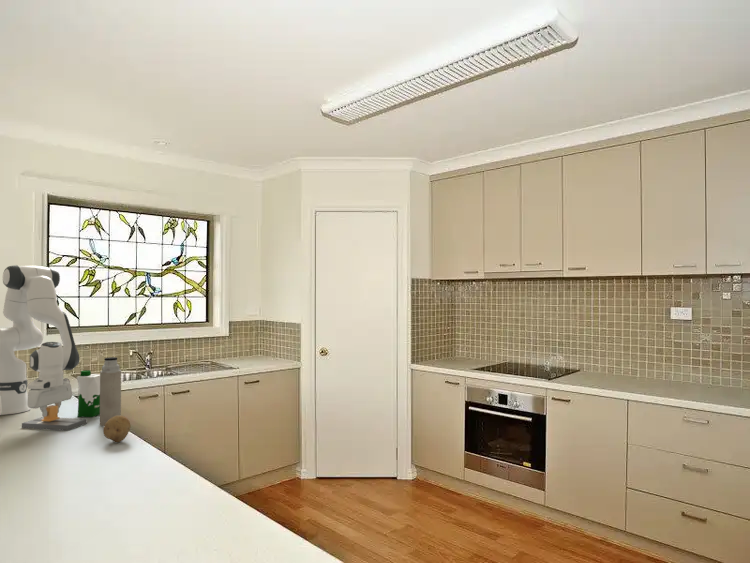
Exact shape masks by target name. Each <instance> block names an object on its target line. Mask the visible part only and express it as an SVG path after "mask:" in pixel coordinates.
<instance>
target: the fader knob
mask: <svg viewBox="0 0 750 563" xmlns="http://www.w3.org/2000/svg"><path fill="white" fill-rule="evenodd" d="M46 410H47V412H49V415H48V416H46V417H44V419H42V421H49V422H50V421H54V420H57V419H60V418H61V417H60V416H58V415H59V413H58V405H55V404H51V405H47V408H46Z"/></svg>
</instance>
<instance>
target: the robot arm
mask: <svg viewBox="0 0 750 563" xmlns="http://www.w3.org/2000/svg"><path fill="white" fill-rule="evenodd" d="M60 281H61V276H60V272H59V271H58V269H56V268H53V267H50V266H47V267H46V266H40V265H17V264H15V265H9V266H7V267H6V268H5V269H4V271H3V273H2V283H3V285H4V286H5V287H6V288H7V290H6V294H5V298H4V304H3V311H2V314H3V316H4V318H6V319H7V320H9V321H11V322H13V324H12V327H0V416H4V415H12V414H19V413H25V412H28V411H30V410H31V409H40V411H41V414H42V416H41V417H46V416H48V415H49V412H47V410H46V408H47V406H50V405H58V414H59V412H60V407H61V405H62V402H65V401H68V400H71V399H72V396H73V390H72V385H71V380H70V379H68V377H66V378H64V374H65V373H64V371H72V370H74V369H75V368H76V367H77V366H78V365H79V364H80V354H79V351H78V348H77V346H76V343H75V339H74V336H73V332H72V328H71V323H70V321H69V318H68V314H67V313H66V312H64V311H62V309H61V308H60V307H59V305H58V301H57V299H58V298H57V292H56V288H57V287H58V286H59V284H60ZM33 319H34V320H36V321H37V322H41V323H44V324H48V325H49V326H50V325H51V326H53V327H54V328H56V329H57V330H58V332H59V336H60V339H61V342H58V341H57V342H56V341H46V342H43V340H44V333H43V332H42V330H41V329H40V328H39V327H38V326H36V324H35V322H34V321H33ZM38 347H40V348H39V349H35V348H38ZM31 349H35V350H33V352H32V353H31V354H30V355H29V368H30V369H32V371H34V372H39V373H38V377H37V378H36V379H35V380H33V381H31V382H30V383H28V379H27V367H28V366H27V363H26V362H25V361H24V360H23V359H21V358H18V357H17V356H16V354H15V351H16V352H17V351H25V350H26V351H27V350H31ZM27 389H29V390H27Z"/></svg>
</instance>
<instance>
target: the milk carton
mask: <svg viewBox="0 0 750 563" xmlns="http://www.w3.org/2000/svg"><path fill="white" fill-rule="evenodd" d="M76 380H77V386H78V387H77V388H78V395H77V396H78V398H77V401H78V402H77V404H78V405H77V418H94V417H97V416H100V373H99V374H98V373H92V372H91V370H85V369H84V370H81V371H80V375H78V376H77V377H76Z"/></svg>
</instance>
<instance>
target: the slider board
mask: <svg viewBox="0 0 750 563" xmlns="http://www.w3.org/2000/svg"><path fill="white" fill-rule="evenodd" d="M42 419H44V417H43V416H41V417H37V418H35V419H31V420H29V421H28V420H27V421H24V422H21V429H29V428H34V429H33V430H47V429H50V430H49V431H67V432H68V431H70V430H73V429H75V428H78V426H79V427H82V426H84V425H86V424H87V423H88V422H87V421H88V419H87V418H78V417H77V418H76V417H75V418H74V417H73V418H72V417H60V419H57V420H54V421H50V422H49V421H42ZM81 425H82V426H81Z"/></svg>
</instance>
